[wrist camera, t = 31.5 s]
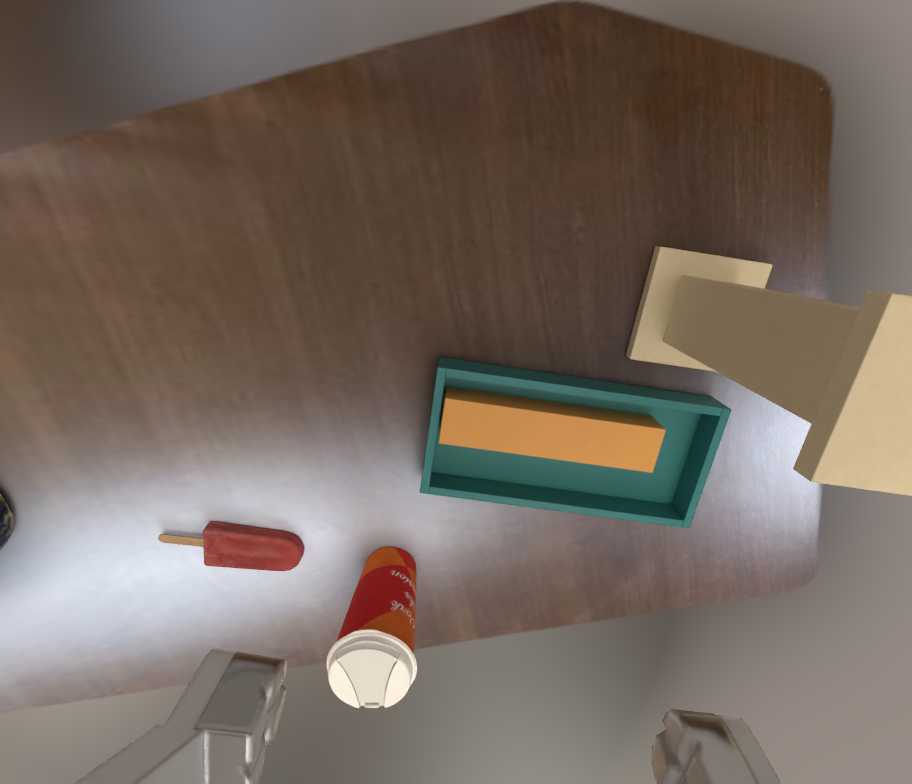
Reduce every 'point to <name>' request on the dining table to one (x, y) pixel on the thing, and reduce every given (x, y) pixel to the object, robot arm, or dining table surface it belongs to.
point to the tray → (571, 483)
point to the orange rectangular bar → (550, 429)
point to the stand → (792, 359)
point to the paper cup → (377, 634)
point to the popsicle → (244, 547)
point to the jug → (5, 522)
